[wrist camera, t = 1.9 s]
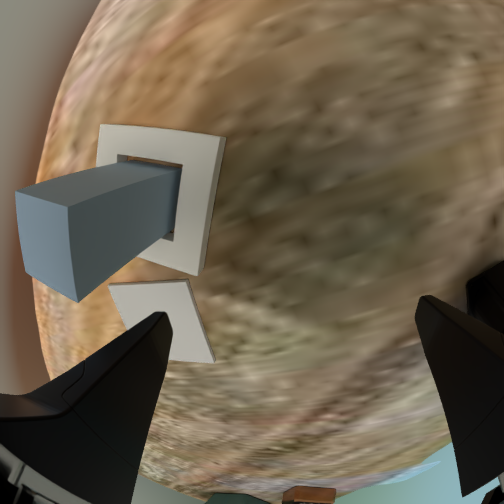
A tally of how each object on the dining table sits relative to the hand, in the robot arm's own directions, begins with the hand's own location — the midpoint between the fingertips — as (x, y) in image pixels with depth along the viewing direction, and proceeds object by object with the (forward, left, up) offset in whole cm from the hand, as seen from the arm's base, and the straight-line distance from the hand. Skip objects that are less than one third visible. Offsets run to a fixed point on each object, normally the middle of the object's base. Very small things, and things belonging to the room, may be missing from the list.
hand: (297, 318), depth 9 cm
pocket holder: (+7, +10, -12) cm, 17 cm away
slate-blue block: (+7, +10, -12) cm, 17 cm away
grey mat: (-4, +18, -12) cm, 22 cm away
